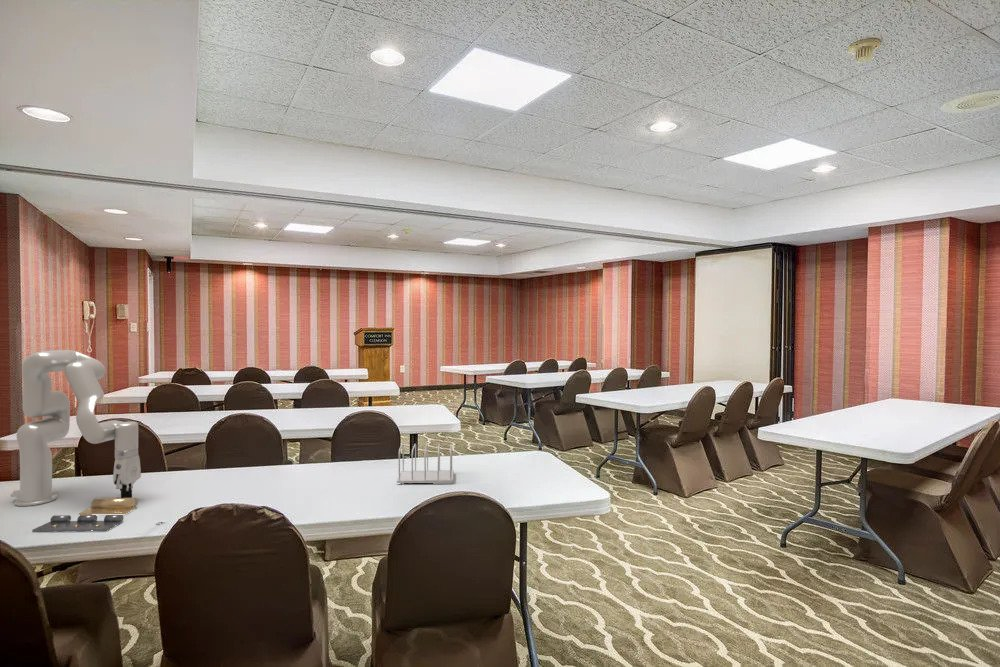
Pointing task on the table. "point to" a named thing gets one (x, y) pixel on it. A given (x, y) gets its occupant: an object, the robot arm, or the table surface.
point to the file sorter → (426, 476)
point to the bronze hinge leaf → (111, 506)
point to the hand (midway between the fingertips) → (126, 500)
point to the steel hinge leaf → (79, 523)
